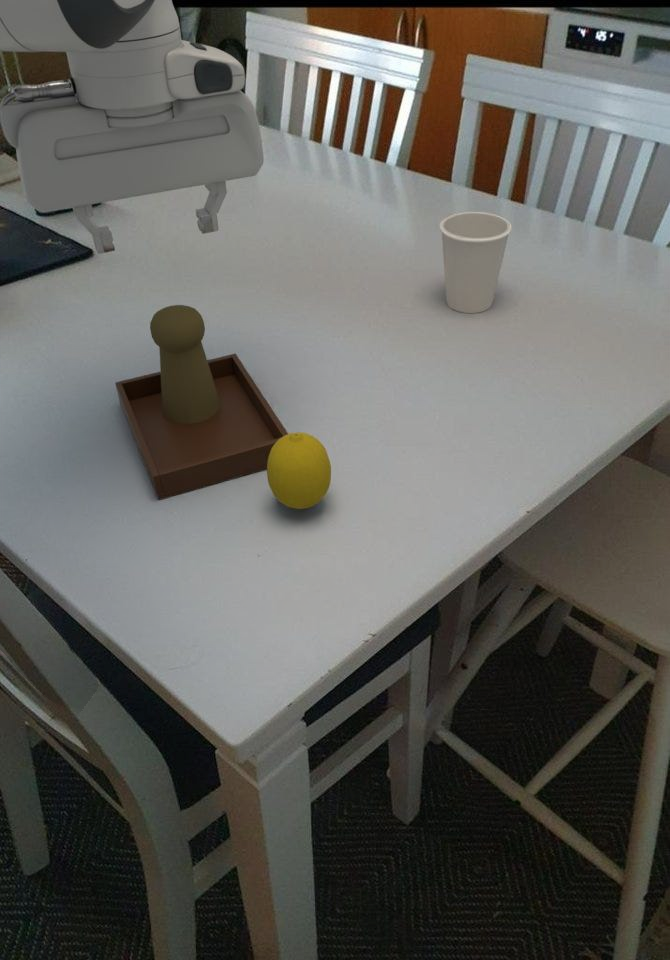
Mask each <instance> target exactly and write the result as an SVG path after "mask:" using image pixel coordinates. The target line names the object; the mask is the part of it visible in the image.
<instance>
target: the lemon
mask: <svg viewBox="0 0 670 960" xmlns="http://www.w3.org/2000/svg"><path fill="white" fill-rule="evenodd" d="M266 477H267V482H268V485H269V487H270V490H271V492H272V494H273V496H274V497H275V498H276V499H277V500H278V501H279V503H281V504H282V505H284V506H286V507H288V508H291V509H294V510H295V509H296V510H304V509H308V508H312V507H313V506H315V505H317V504H318V503H320V502H321V500H323V498H325V496H326V494H327V492H328V491H329V488H330V485H331V479H332V464H331V461H330V458H329V454H328V452H327V449H326V448H325V446H324V445H323V443H322V442H321V441H320V439H318V438H317V437H315V436H314V435H311V434H310V433H306V432H301V431H300V432H299V431H298V432H297V431H296V432H291V433H288V434H287V435H285V436H283V437H282V438H280V439H279V440H278V441H277V442H276V443H275V444H274V445H273V447H272V449H271V451H270V454H269V457H268V462H267V469H266Z"/></svg>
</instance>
